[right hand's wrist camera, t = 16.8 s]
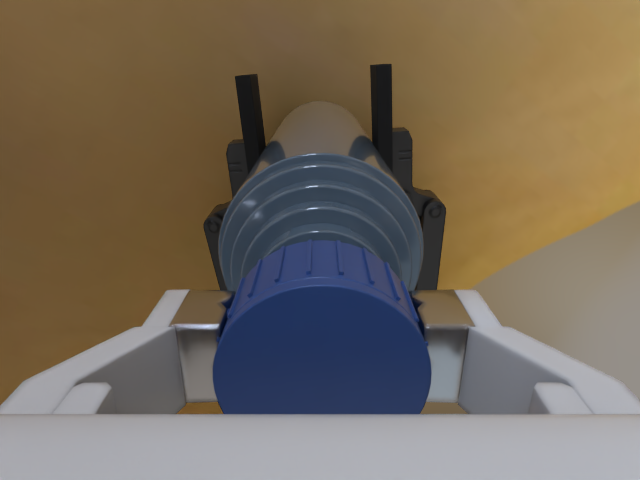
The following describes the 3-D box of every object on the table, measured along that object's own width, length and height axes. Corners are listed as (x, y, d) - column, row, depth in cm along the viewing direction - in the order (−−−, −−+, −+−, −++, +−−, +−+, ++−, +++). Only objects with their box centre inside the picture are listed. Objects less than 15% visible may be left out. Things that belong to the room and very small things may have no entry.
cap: (225, 235, 9) (200, 279, 7) (422, 239, 9) (449, 285, 7) (234, 392, 11) (215, 463, 9) (404, 395, 11) (422, 467, 9)
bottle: (274, 99, 29) (137, 209, 7) (368, 101, 29) (514, 218, 7) (275, 190, 32) (174, 483, 10) (362, 192, 32) (461, 489, 10)
